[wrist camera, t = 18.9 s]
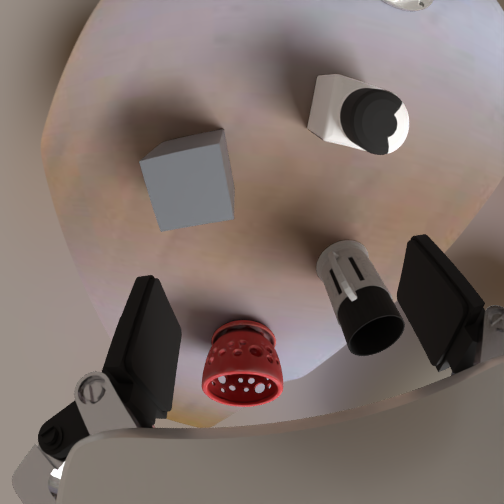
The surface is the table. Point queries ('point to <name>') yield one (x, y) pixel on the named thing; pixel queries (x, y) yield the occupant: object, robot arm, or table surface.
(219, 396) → the plant pot
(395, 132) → the medicine bottle
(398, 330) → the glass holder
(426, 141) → the table surface
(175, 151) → the gray cube
